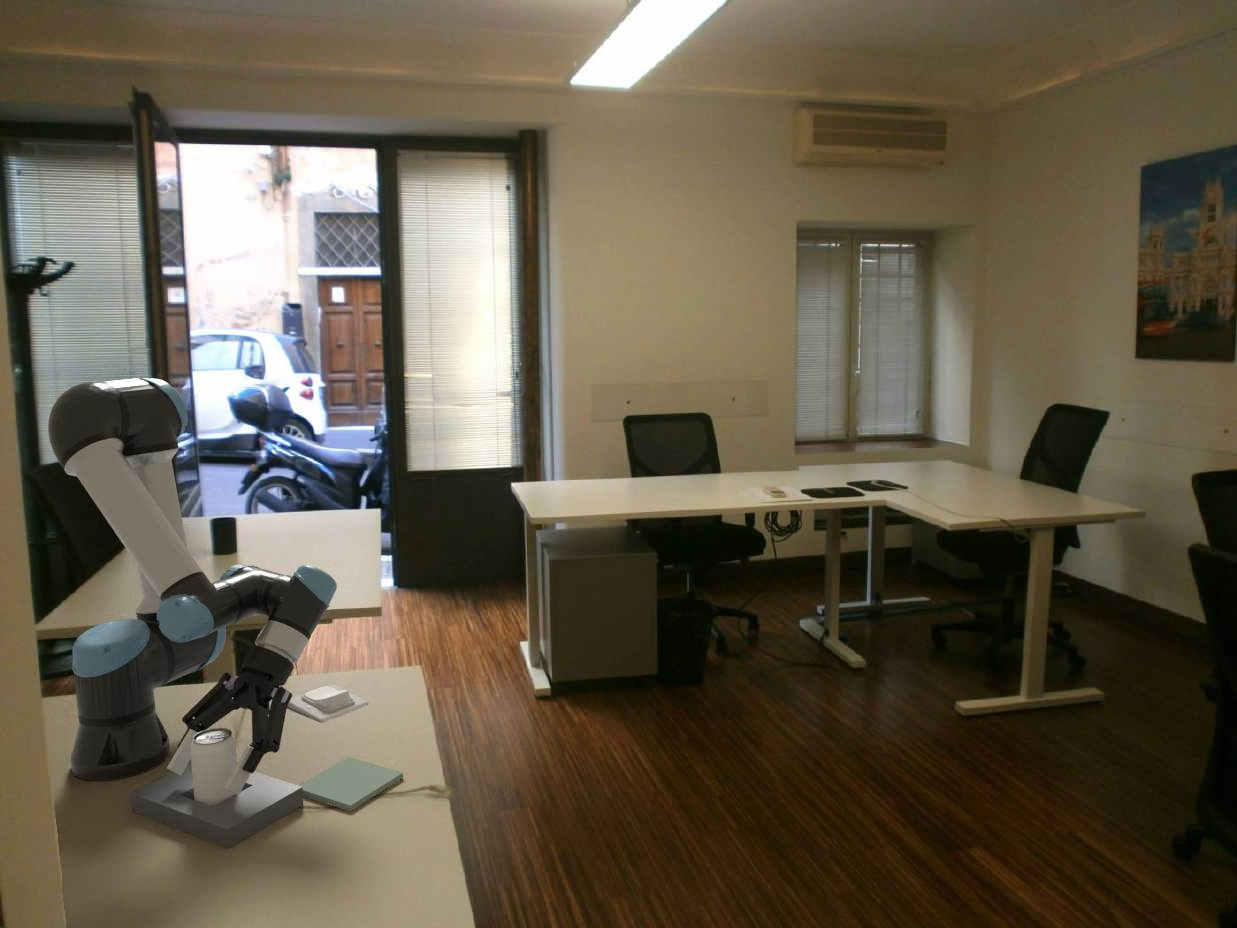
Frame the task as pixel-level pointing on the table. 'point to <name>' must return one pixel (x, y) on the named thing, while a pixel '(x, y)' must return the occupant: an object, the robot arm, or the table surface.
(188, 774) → the block
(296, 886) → the table surface
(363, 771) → the mat
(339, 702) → the light switch
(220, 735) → the can
